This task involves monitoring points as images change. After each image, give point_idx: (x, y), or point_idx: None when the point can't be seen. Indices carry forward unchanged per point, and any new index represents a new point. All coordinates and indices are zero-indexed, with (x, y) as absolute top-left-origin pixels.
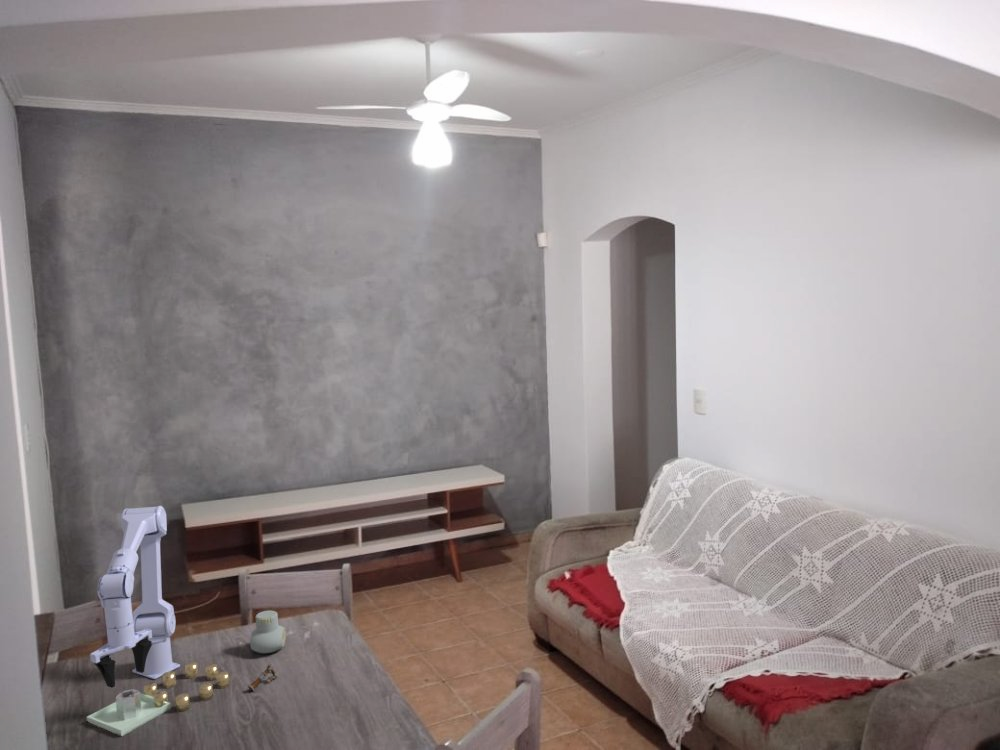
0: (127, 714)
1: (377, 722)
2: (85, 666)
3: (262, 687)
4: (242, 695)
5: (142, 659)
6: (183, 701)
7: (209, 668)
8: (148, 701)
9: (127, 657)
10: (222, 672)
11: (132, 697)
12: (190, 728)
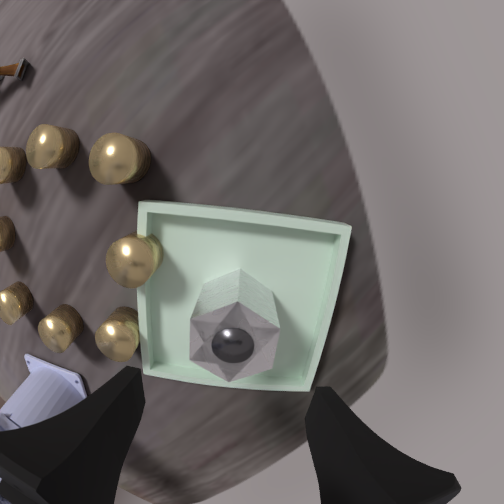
0: (263, 291)
1: None
2: (145, 487)
3: None
4: (42, 70)
5: (101, 418)
6: (127, 136)
7: None
8: (151, 309)
9: None
10: None
11: (245, 305)
12: (225, 40)
